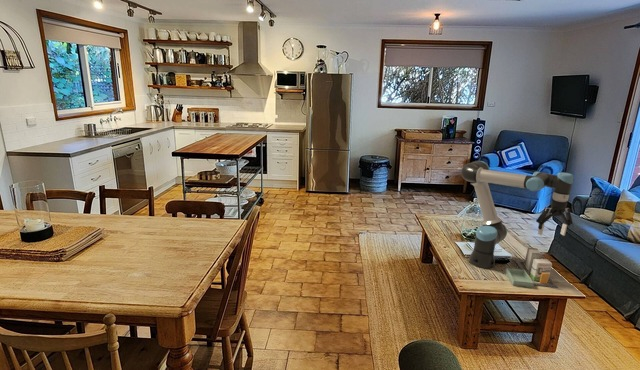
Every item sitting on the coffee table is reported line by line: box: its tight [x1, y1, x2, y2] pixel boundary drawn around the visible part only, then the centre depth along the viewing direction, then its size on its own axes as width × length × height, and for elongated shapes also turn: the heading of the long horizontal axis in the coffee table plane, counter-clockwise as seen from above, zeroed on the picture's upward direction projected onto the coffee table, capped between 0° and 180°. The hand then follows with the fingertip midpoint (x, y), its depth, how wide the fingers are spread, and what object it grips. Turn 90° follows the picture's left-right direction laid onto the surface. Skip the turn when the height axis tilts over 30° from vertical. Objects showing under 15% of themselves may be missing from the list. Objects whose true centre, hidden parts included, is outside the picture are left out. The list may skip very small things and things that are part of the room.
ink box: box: [529, 258, 553, 282], centre depth 212 cm, size 9×5×12 cm, turn 89°
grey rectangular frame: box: [514, 257, 558, 288], centre depth 218 cm, size 14×28×7 cm, turn 170°
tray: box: [504, 267, 535, 288], centre depth 212 cm, size 11×15×3 cm
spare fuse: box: [523, 247, 543, 273], centre depth 223 cm, size 5×9×12 cm, turn 170°
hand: (551, 234), depth 211 cm, fingers open, 13 cm apart
